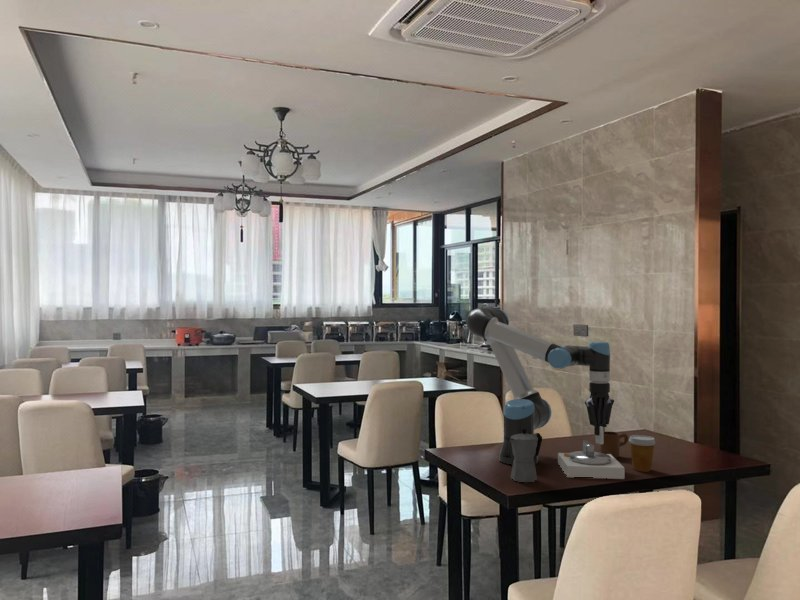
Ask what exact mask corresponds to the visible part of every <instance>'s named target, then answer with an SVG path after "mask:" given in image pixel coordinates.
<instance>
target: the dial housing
mask: <svg viewBox="0 0 800 600" xmlns="http://www.w3.org/2000/svg"><path fill="white" fill-rule="evenodd" d="M569 453H570V452H557V464H558V465H560V466H559V467H560V468H562V469H561V470H562V472H563V471H564V472H563V473H564V475H565V474H566V475H567V476H566V475H565V476H566V478H574V477H593V478H592V479H606V478H607V479H611V480H612V479H614V480H625V477H626V476H625V473H626V472H625V470H626V469H625V467H624V466H623V465H622V464H621V463H620V461H618V459H617V458H614V457H613V456H612V455H611V454H607V455H609V456H610V457H611V462H610V463H609V464H604V465H588V464H581V463H577V462H573V461H571V460H570V459H569Z"/></svg>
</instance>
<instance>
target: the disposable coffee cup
mask: <svg viewBox="0 0 800 600" xmlns="http://www.w3.org/2000/svg"><path fill="white" fill-rule="evenodd" d="M628 442H629V445H630V446H629V447H630V455H631V456H630V457H631V465H632V469H633V470H634V471H638V472H643V473H647V472H650V471H651V470H652V465H653V464H652V462H653V456H654V448H655V445H656V443H657V441H656V440H655V437H653V436H649V435H643V434H642V435H641V434H640V435H639V434H633V435H630V436H629V438H628Z"/></svg>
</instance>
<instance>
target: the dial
mask: <svg viewBox="0 0 800 600" xmlns="http://www.w3.org/2000/svg"><path fill="white" fill-rule="evenodd" d="M568 453H569V459H570V460H571V461H573V462H577V463H581V464H588V465H604V464H609V463H610V462H611V457H610V456H609V455H607V454H604V453H600V451H599V452H597V451H595V445H594V444H592V443H591V442H590V441H589V440H588V439H583V440H582V450H579V451H578V450H577V451H570V452H568Z"/></svg>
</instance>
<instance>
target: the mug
mask: <svg viewBox="0 0 800 600" xmlns="http://www.w3.org/2000/svg"><path fill="white" fill-rule="evenodd" d="M622 438H623V440H622V441H621V439H622ZM628 442H629V436H628V435H627V433H625V432H624V433H618V432H616V431H605V434H604V442H603V444H599V453H604V454H611V455H612V456H613V457H614V458H615V459H617V458H619V457H620V451H621V450H620V448H621V447H623V446H625V445H627V443H628Z"/></svg>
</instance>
